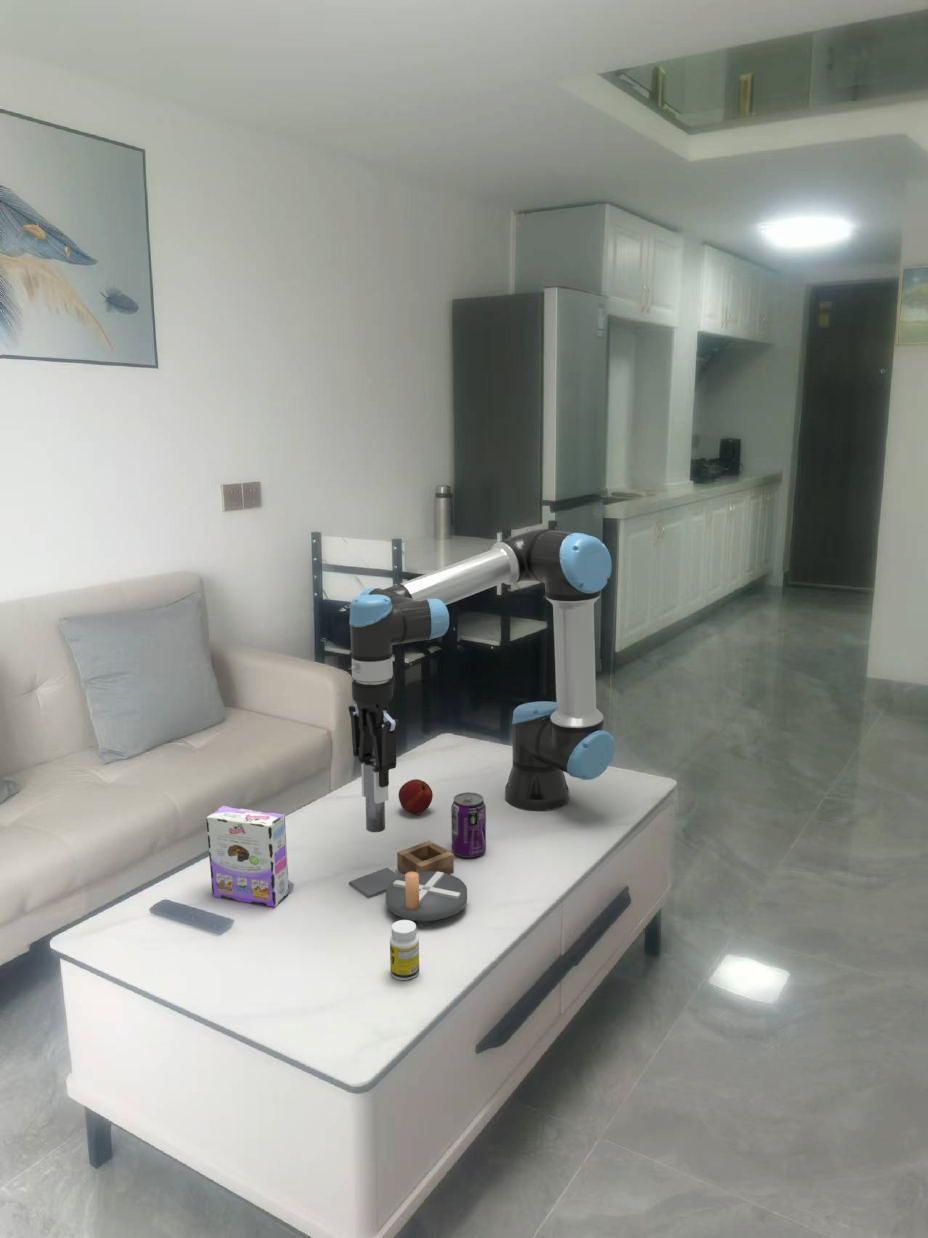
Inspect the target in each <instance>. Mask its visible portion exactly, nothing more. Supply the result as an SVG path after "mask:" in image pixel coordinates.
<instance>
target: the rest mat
mask: <svg viewBox="0 0 928 1238" xmlns="http://www.w3.org/2000/svg"><path fill="white" fill-rule="evenodd" d="M399 877H401V875H399V874H398V873H397V872H395V871H393V870H392V869H390V868H389V867H385V868H382V869H379V870H376V871H373V872H371V873H368V874H366V875H362V876H360V877H358V878H355V879H351V880H349V881H348V885H349V886H350V887H352V888H353V889H354V890H356V891H358V892H359V893H360V894H361V895H362V896H364V897H366V898H367V899H371V898H374V897H377V896H379V895H383V894H384V893H386V889H387V887H388V885H389V884H390V883H391V882H392V881H394V880H395V879H397V878H399Z"/></svg>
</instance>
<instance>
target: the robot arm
mask: <svg viewBox="0 0 928 1238" xmlns="http://www.w3.org/2000/svg"><path fill="white" fill-rule="evenodd" d="M611 574H612V558H611V554H610V551H609V550H608V548H607V546H606V545H605V543H603V542H602V540H600V539H599V538H597V537H595V536H594V535H588V534H586V533H582V532H575V531H574V532H573V531H566V530H556V529H552V528H551V529H550V528H541V529H540V528H539V529H533V530H529V531H526V532H523V533H520V534H516V535H515V536H512V537H508V538H506V539H504V540H501V541H497V542H496V543H494V544H493V545H492V546H491V549H490V550H488V551H485V552H482V553H480V554H477V555H473V556H471V557H468V558H466V559H463V560H460V561H458V562H455V563H452V564H449V565H447V566H444V567H442V568H439V569H436V570H434V571H430V572H428V573H426V574H425V573H424V574H423V575H420V576H417V577H414V578H412V579H409V580H407V581H404V582H401V583H398V584H395V585H391V586H389V587H386V588H380V587H373V588H372V587H371V588H367V589H365V590H363V591H362V592H361V593H360V594H359V595H358V596H355V597H353V598H352V599H351V602H350V604H349V605H350V608H349V621H348V622H349V627H350V628H349V629H350V631H349V632H350V653H351V656H350V657H351V667H350V668H351V678H352V682H351V696H352V697H351V698H352V700H353V701H354V702H355V703H356V704H352V705H349V706H348V712H349V716H350V726H351V741H352V743H351V744H352V755H353V756H354V757H357V758H358V761H359V763H360V775H361V776H360V777H361V797H363V798H366V797H365V763H366V762H369V761H376V768H375V769H373V771H374V803H376V804H378V803H381V802H384V801H385V802H386V801H389V784H390V781H389V780H390V777H389V775H390V773H389V772H390V771H391V770H393V769H396V767H397V750H398V749H397V742H398V729H399V725H400V720H399V719H398V718H396V719H395V718H394V719H393V718H392V717H391V716H390V709H389V703H390V701H391V700H392V699H393V697H394V687H393V685H394V682H393V680H392V678H393V676H394V670H393V645H394V646H395V645H396V646H397V645H400V644H401V645H402V644H408V643H413V642H420V641H431V640H433V639H437V638H441V637H443V636H445V634H446V633H447V632H448V629H449V626H450V613H449V610H448V607H447V605H449V604H453V603H455V602H458V601H460V600H462V599H465V598H467V597H470V596H473V595H475V594H477V593H480V592H483V591H486V590H487V589H491V588H493V587H496V586H498V585H501V584H505V585H508V586H510V585H514V584H516V583H519V582H524V581H525V582H526V581H529V582H531V581H533V582H538V583H539V582H540V583H543V584H544V588H545V591H544V592H545V599H546V600H547V601H549V603H550V604H551V605H552V610H553V612H552V613H553V614H552V615H553V639H554V640H553V641H554V664H555V667H554V669H555V691H556V692H555V693H556V694H555V695H556V696H555V697H556V701H545V700H543V701H533V702H526V703H523V704H519V705H518V706H516V708H514V710H513V712H512V714H513V715H512V721H511V725H512V726H511V729H512V730H511V731H512V736H511V737H512V738H511V739H512V743H511V744H512V766H511V770H510V773H509V776H508V781H507V782H506V785H505V786H504V799H505V801H506V802H507V803H509V804H510V805H511V806H513V807H515V808H519V809H522V810H528V811H550V810H551V811H552V810H555V809H559V808H561V807H563V806H565V805H566V804H567V803H568V802H569V799H570V790H569V785H568V784H567V780H566V776H565V773H566V774H568V775H569V776H570V777H573V778H578V779H580V780H582V781H590V780H594V779H597V778H598V777H600V776H602V774H604V773H605V771H606V770H607V768H608V767H609V766H610V765H611V763H612V761H613V759H614V756H615V753H616V742H615V739H614V736H613V735H611V734H610V732H609V731H606V729H604V728H605V725H604V724H605V723H604V715H603V713H602V712H601V711H600V710H599V709H598V708H597V691H596V690H597V688H596V685H597V684H596V653H595V652H596V649H595V643H596V642H595V641H596V640H595V611H594V610H595V609H594V608H595V607H594V604H595V603H596V602H597V600H599V599H600V597H601V593H602V592H601V590H603V589H604V588H605V587H606V585H607V584H608V579H610V577H611ZM374 759H375V760H374Z"/></svg>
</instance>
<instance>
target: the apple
mask: <svg viewBox="0 0 928 1238" xmlns="http://www.w3.org/2000/svg"><path fill="white" fill-rule="evenodd" d="M397 795H398V799H399V803H400V806H401V808H402V809H403V810H404V811H405V812H406V813H408V814H409V815H419V814H422V813H424V812H426V811H427V809H428V808H429V807H430V806H431V803H432V800H433V796H434V793H433V790H432V787H431V786H430V785H429V784H428V783H427V782H425V781H424V780H421V779H417V778H415V779H411V780H408V781H407V782H405V783H404V784H403V785H402V786H401V787H400V788H399V790H398V794H397Z"/></svg>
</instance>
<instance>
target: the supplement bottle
mask: <svg viewBox="0 0 928 1238" xmlns="http://www.w3.org/2000/svg"><path fill="white" fill-rule="evenodd" d="M390 933H391V935H390V938H389V955H390V957H389V959H390V960H389V963H390V974H391V976H392V977H393V978H394V979H396V980H399V981H407V980H408V981H409V980H411V979H414V978H416V977H418V975H419V974H420V942H419V940H420V938H419V935H418V934H417V925H416V922H414V921H413V920H411V919H400V920H397V921H395V922H393V923H392V924H391V931H390Z"/></svg>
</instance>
